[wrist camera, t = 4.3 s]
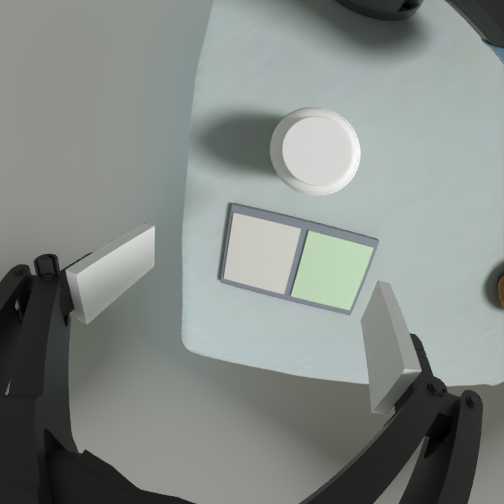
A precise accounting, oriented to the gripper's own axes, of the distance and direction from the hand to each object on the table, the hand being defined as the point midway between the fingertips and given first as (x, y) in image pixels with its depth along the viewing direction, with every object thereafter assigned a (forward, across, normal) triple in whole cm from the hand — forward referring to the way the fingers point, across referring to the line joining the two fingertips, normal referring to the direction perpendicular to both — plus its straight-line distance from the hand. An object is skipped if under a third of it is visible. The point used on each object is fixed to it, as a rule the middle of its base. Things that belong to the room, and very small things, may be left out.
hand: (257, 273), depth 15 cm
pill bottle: (+22, +2, +6) cm, 23 cm away
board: (+22, +2, -8) cm, 23 cm away
